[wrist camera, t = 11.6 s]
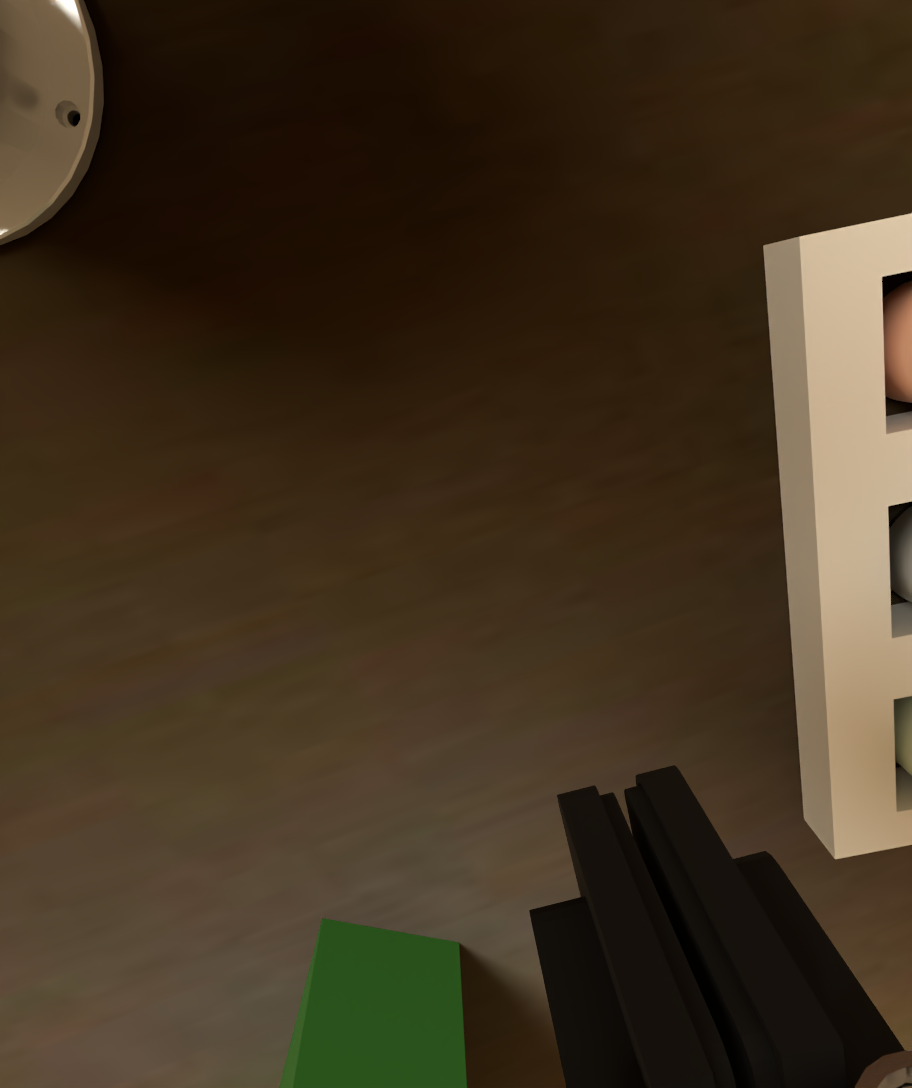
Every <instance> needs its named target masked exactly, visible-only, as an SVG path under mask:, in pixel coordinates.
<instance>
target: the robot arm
mask: <svg viewBox="0 0 912 1088" xmlns="http://www.w3.org/2000/svg"><path fill="white" fill-rule="evenodd" d="M103 105H104V94H103V68H102V62H101V57H100V52H99V47H98V43H97V38H96V33H95V28H94V26H93V23H92V20H91V18H90V15H89V13H88V10H87V7H86V5H85V2H84V0H0V245H2V244H5V243H7V242H10V241H12V240H15V239H18V238H20V237H23V236H25V235H27V234H29V233H30V232H32V231H33V230H35V229H36V228H38V227H39V226H41V225H42V224H43V223H45V222H46V221H48V220H49V219H51V218H52V217H53V216H54V215H55V214H56V213H57V212H58V211H59V209H60V208H61V207H62V206H63V205H64V204H65V203H66V202H67V201H68V200H69V199H70V198H71V197H72V195H73V194H74V192H75V190H76V189H77V187H78V185H79V184H80V182H81V180H82V179H83V177H84V175H85V173H86V172H87V170H88V168H89V165H90V162H91V159H92V156H93V154H94V151H95V148H96V145H97V142H98V139H99V134H100V127H101V120H102V113H103ZM76 114H80V121H79V123H78V125H77V126H74V124H73V118H74V116H75V115H76ZM636 785H637V786H636V787H632V788H628V789H625V790H624V793H625V799H626V804H627V809H628V814H629V819H630V824H631V829H632V833H631V831H630V829H629V827H628V824H627V822H626V820H625V817H624V815H623V813H622V811H621V808H620V806H619V804H618V801H617V799H616V797H615V795H614V793H613V792H612V793H608V794H604V795H599V793H598V791H597V788H596V787H595V786H591V787H587V788H583V789H579V790H575V791H571V792H567V793H563V794H559V795H557V798H558V803H559V807H560V811H561V815H562V820H563V824H564V828H565V832H566V836H567V841H568V845H569V849H570V853H571V857H572V862H573V866H574V870H575V874H576V878H577V883H578V887H579V891H580V895H581V897H580V898H576V899H572V900H568V901H564V902H560V903H556V904H552V905H548V906H544V907H540V908H536V909H532V910H530V917H531V922H532V926H533V931H534V936H535V941H536V945H537V950H538V955H539V960H540V964H541V969H542V974H543V979H544V983H545V988H546V993H547V997H548V1002H549V1007H550V1012H551V1016H552V1021H553V1026H554V1031H555V1035H556V1040H557V1045H558V1049H559V1054H560V1059H561V1064H562V1068H563V1073H564V1078H565V1083H566V1087H567V1088H912V1051H909V1050H904V1048H903V1047H902V1045H901V1044H900V1042H899V1041H898V1040H897V1038H896V1037H895V1035H894V1034H893V1032H892V1031H891V1029H890V1028H889V1026H888V1025H887V1023H886V1022H885V1020H884V1019H883V1017H882V1016H881V1014H880V1013H879V1012H878V1010H877V1009H876V1007H875V1006H874V1004H873V1003H872V1001H871V1000H870V998H869V997H868V995H867V994H866V992H865V991H864V989H863V988H862V986H861V985H860V984H859V982H858V981H857V979H856V978H855V976H854V975H853V973H852V972H851V970H850V969H849V967H848V966H847V964H846V963H845V961H844V960H843V958H842V957H841V956H840V954H839V953H838V951H837V950H836V948H835V947H834V945H833V944H832V942H831V941H830V939H829V938H828V936H827V935H826V933H825V932H824V930H823V929H822V928H821V926H820V925H819V923H818V922H817V920H816V919H815V917H814V916H813V914H812V913H811V911H810V910H809V908H808V907H807V905H806V904H805V903H804V901H803V900H802V898H801V897H800V895H799V894H798V892H797V891H796V889H795V888H794V886H793V885H792V883H791V882H790V880H789V879H788V877H787V876H786V875H785V873H784V872H783V870H782V869H781V867H780V866H779V864H778V863H777V862H776V860H775V859H774V858H773V857H772V855H770V854H769V853H767V852H766V851H764V852H760V853H756V854H752V855H748V856H744V857H740V858H736V859H732V857H731V856H730V854H729V852H728V851H727V849H726V847H725V846H724V844H723V842H722V841H721V839H720V837H719V836H718V834H717V832H716V831H715V829H714V827H713V826H712V824H711V822H710V821H709V819H708V817H707V816H706V814H705V812H704V811H703V809H702V807H701V806H700V804H699V802H698V801H697V799H696V797H695V796H694V794H693V792H692V791H691V789H690V787H689V786H688V784H687V782H686V781H685V779H684V777H683V776H682V774H681V772H680V771H679V770H678V768H677V767H676V766H670V767H666V768H662V769H658V770H654V771H650V772H646V773H642V774H638V775H636ZM632 834H633V836H632Z"/></svg>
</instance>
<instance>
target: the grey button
mask: <svg viewBox="0 0 912 1088" xmlns="http://www.w3.org/2000/svg"><path fill="white" fill-rule="evenodd" d="M889 554H890V588H891V589H892V590H893V591H894V592H895V593H897V594H898V595H899V596H901V597H903V598H904V599H906V600H908V601H910V602H911V603H912V506H911V507H909V508H908V509H907V510H906V511H904V512H903V513H902V514H901V515H900V516H899V517H898V518H897V519H896V520H895V522H894V523H893V524H892V526H891V527H890V529H889Z"/></svg>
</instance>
